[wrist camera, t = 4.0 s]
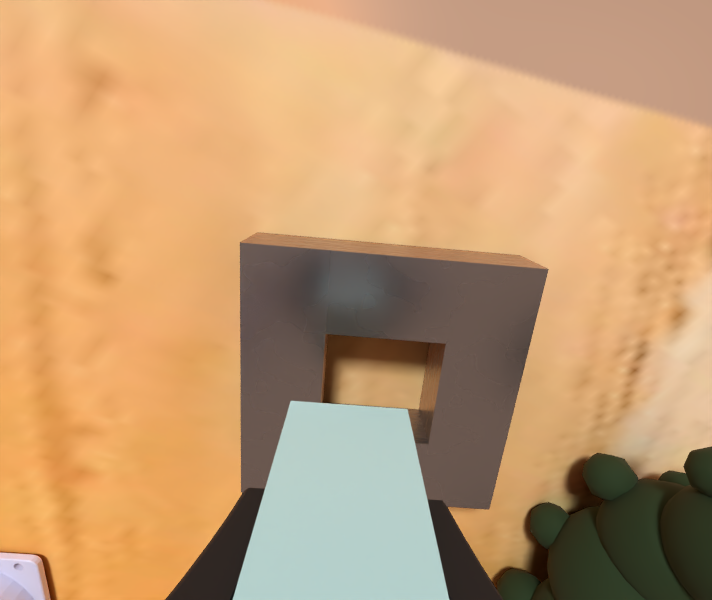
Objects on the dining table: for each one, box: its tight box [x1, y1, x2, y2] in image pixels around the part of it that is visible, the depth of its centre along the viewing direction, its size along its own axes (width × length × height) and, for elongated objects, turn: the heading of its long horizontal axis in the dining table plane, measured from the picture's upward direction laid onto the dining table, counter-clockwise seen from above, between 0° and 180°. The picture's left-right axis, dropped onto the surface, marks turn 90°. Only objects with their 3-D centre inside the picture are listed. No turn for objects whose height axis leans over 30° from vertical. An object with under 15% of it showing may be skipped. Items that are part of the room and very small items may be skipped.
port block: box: [240, 233, 548, 509], centre depth 16 cm, size 11×11×2 cm
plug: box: [233, 401, 449, 600], centre depth 8 cm, size 3×3×7 cm
